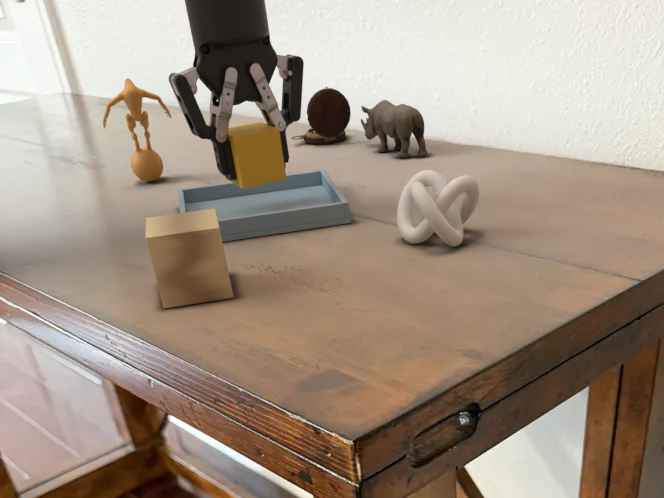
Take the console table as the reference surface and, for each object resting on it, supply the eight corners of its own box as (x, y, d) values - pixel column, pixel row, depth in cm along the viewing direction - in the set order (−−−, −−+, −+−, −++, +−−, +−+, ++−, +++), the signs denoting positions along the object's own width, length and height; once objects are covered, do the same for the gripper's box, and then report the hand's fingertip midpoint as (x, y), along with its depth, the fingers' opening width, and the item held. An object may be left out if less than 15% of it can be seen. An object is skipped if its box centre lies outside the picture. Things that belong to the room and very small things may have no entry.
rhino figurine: (377, 140, 115) (373, 93, 112) (434, 155, 106) (431, 104, 102) (352, 146, 114) (347, 98, 110) (408, 161, 104) (405, 109, 101)
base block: (163, 308, 70) (145, 237, 66) (163, 285, 74) (145, 217, 71) (233, 297, 70) (219, 227, 67) (228, 275, 75) (214, 207, 71)
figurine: (179, 172, 108) (156, 70, 101) (188, 182, 104) (165, 75, 97) (116, 183, 106) (88, 79, 99) (123, 193, 102) (94, 85, 94)
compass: (339, 133, 121) (332, 78, 117) (354, 143, 115) (348, 85, 111) (287, 141, 119) (278, 85, 115) (300, 151, 113) (292, 93, 109)
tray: (186, 247, 83) (181, 226, 81) (181, 208, 94) (177, 189, 93) (351, 223, 85) (348, 202, 84) (326, 188, 97) (324, 169, 96)
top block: (243, 189, 85) (233, 137, 82) (227, 180, 89) (217, 129, 86) (287, 179, 87) (279, 128, 84) (269, 171, 90) (261, 121, 87)
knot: (456, 221, 83) (454, 160, 80) (498, 241, 77) (498, 176, 74) (390, 236, 81) (385, 174, 77) (429, 258, 75) (425, 191, 71)
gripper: (277, -26, 82) (302, 155, 92) (137, -10, 77) (181, 180, 88) (306, -25, 77) (330, 167, 87) (158, -7, 72) (202, 194, 82)
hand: (255, 172), depth 87 cm, fingers closed on top block, 5 cm apart
